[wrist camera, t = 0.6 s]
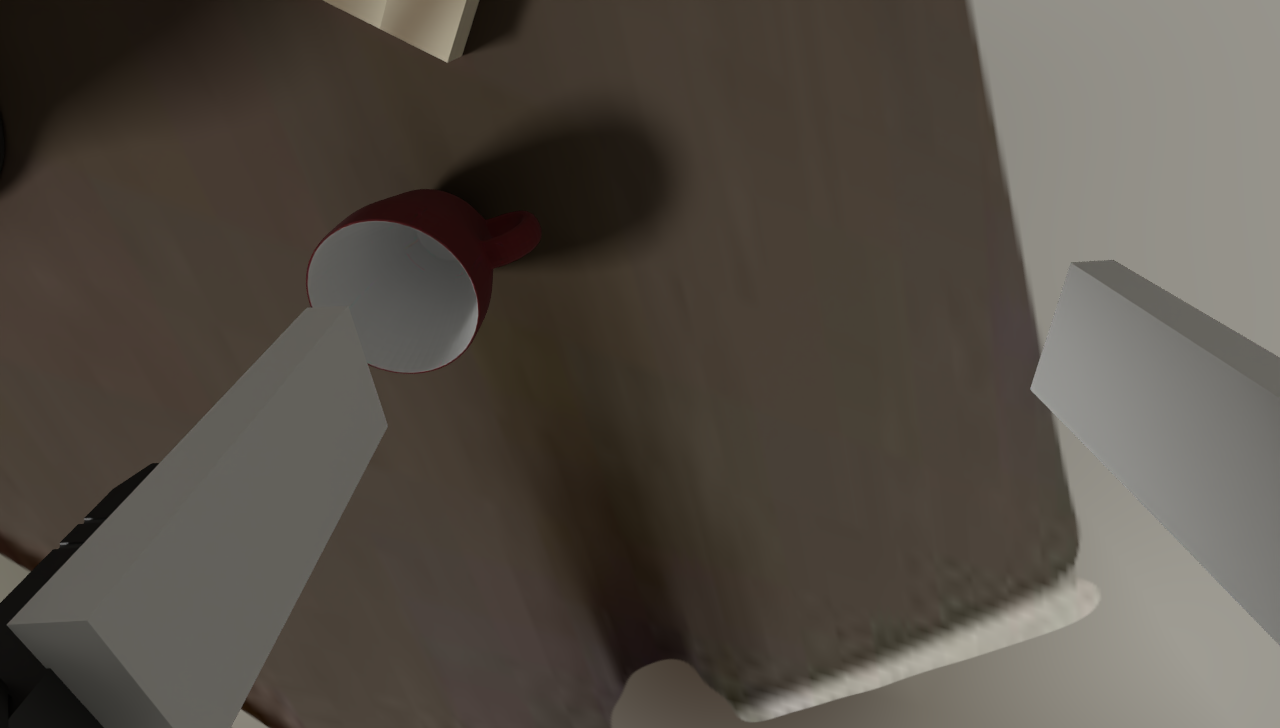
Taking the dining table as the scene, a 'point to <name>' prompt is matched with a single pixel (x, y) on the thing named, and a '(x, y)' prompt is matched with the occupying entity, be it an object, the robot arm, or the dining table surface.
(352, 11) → the button board
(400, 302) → the mug
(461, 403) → the dining table surface
